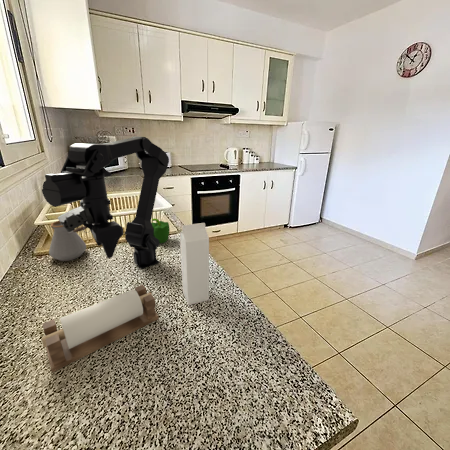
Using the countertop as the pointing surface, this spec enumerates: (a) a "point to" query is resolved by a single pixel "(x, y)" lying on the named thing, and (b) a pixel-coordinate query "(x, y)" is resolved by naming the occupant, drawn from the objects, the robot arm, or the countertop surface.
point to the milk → (195, 262)
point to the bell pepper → (161, 230)
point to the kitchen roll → (99, 318)
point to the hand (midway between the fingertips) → (104, 251)
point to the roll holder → (65, 356)
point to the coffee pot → (66, 243)
